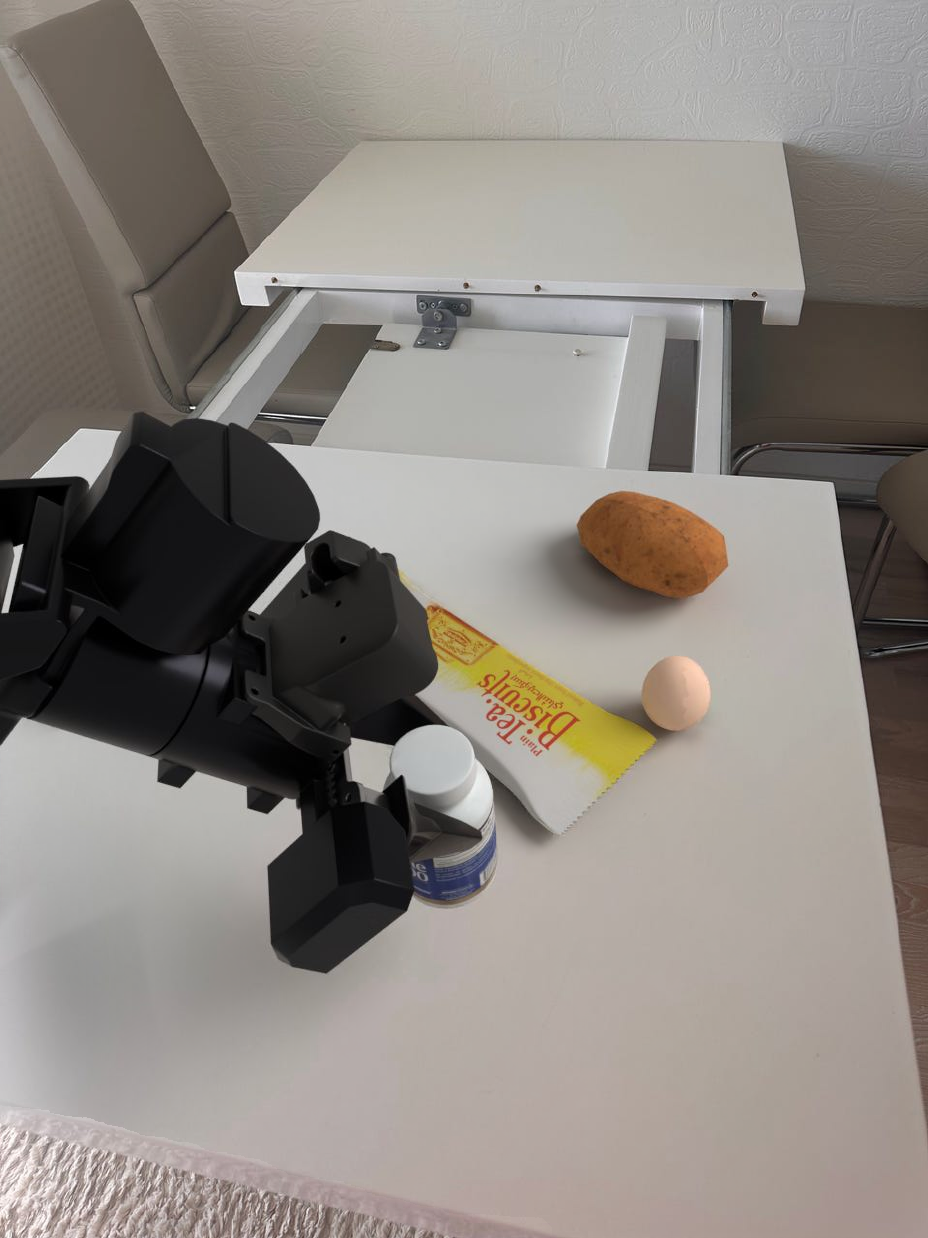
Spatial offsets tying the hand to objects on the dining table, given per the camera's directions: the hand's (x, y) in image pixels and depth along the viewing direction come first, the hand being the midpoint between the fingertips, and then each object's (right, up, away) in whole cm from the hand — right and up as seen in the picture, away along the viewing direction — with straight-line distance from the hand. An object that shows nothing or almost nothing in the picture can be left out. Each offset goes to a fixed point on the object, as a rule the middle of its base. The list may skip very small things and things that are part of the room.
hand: (465, 791), depth 46 cm
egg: (+14, +1, +19) cm, 23 cm away
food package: (0, +3, +22) cm, 22 cm away
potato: (+14, +12, +29) cm, 35 cm away
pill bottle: (-1, -5, +5) cm, 7 cm away
